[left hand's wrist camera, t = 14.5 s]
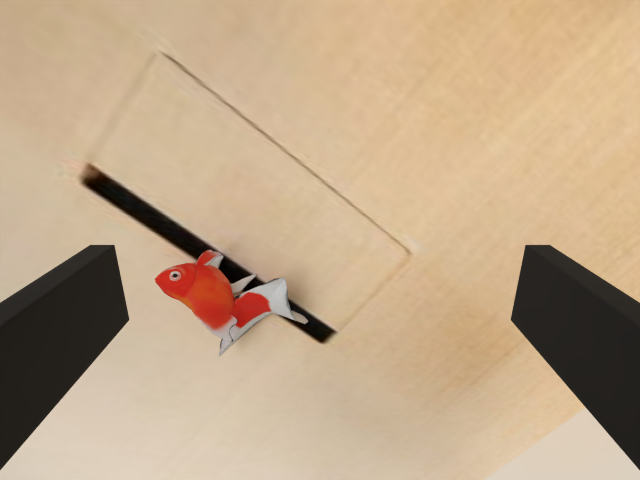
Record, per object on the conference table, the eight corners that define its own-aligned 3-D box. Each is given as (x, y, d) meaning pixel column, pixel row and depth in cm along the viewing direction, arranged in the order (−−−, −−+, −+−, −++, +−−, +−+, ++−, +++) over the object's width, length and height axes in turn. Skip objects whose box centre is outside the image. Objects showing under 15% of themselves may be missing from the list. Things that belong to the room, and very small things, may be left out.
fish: (213, 198, 35) (198, 294, 29) (326, 264, 45) (332, 347, 38) (151, 249, 40) (128, 339, 34) (264, 298, 50) (261, 375, 44)
